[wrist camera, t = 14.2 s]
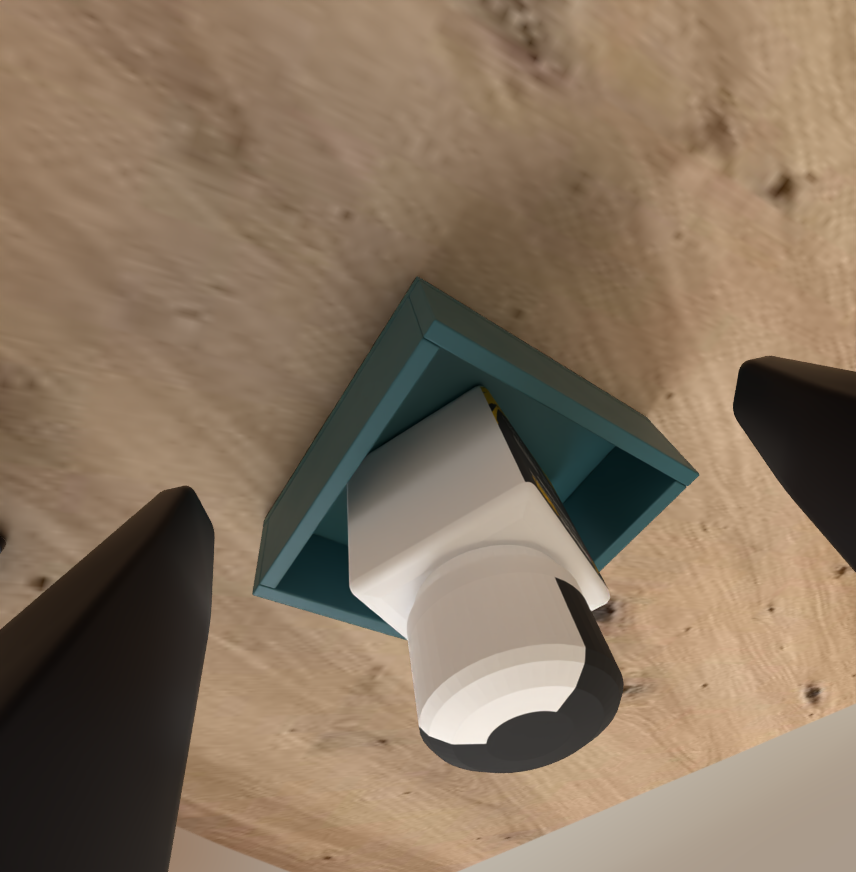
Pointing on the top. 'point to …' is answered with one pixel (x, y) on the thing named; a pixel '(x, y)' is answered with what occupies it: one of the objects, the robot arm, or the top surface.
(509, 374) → the desk bin
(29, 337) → the top surface
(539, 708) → the medicine bottle
